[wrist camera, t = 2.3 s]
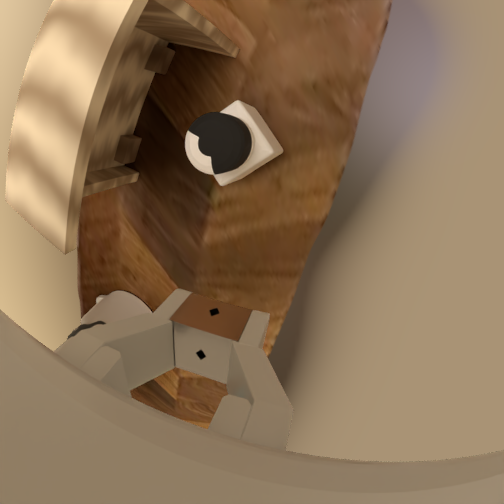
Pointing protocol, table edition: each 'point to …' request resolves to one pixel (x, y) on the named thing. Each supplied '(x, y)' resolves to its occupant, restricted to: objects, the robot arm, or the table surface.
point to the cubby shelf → (91, 102)
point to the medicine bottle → (231, 143)
